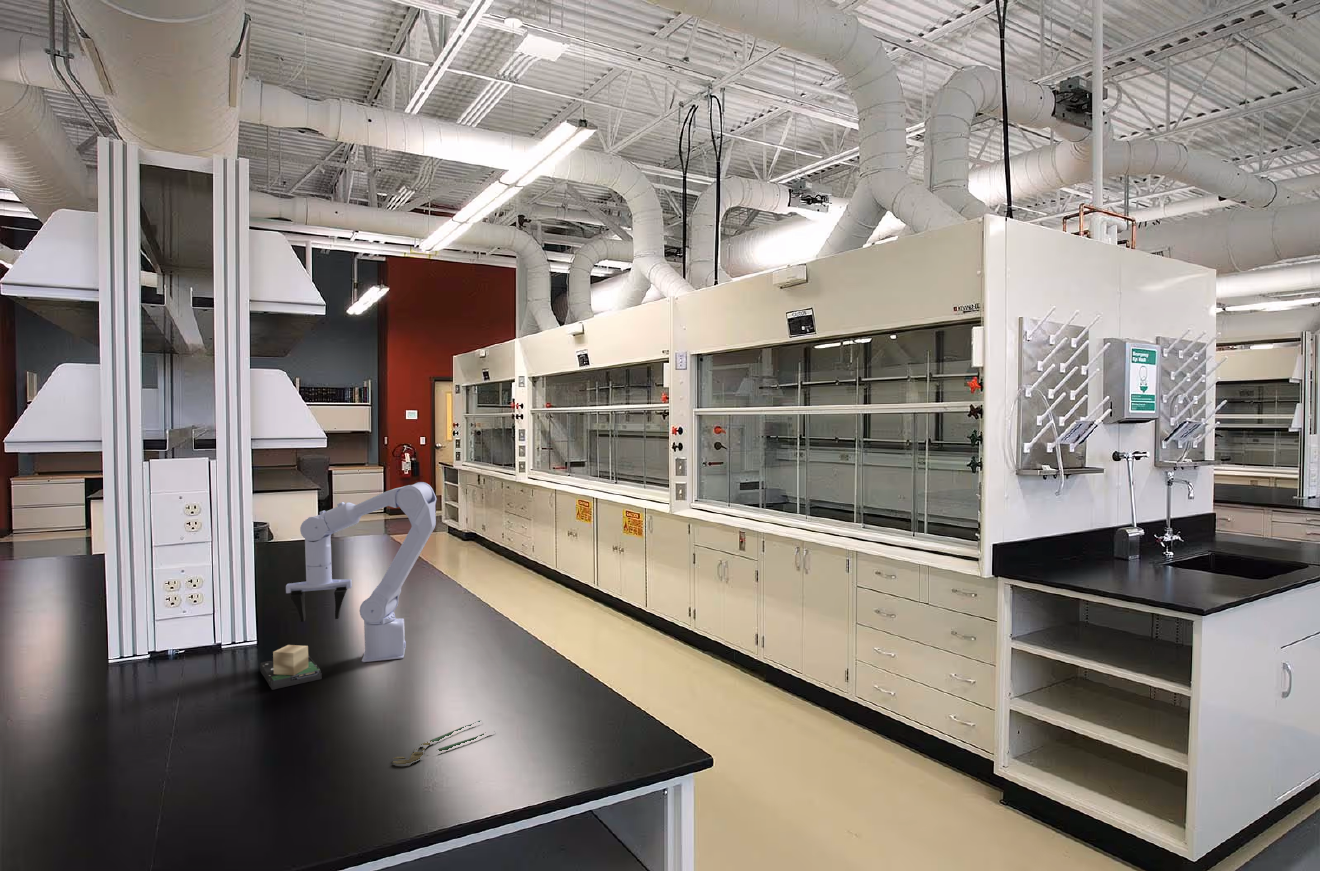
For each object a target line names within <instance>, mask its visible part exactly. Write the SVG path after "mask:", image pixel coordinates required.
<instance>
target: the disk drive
mask: <svg viewBox="0 0 1320 871" xmlns="http://www.w3.org/2000/svg"><path fill="white" fill-rule="evenodd" d="M259 666H260V668H259V669H260V673H261V675H262V676H263V678H264V679H265V681H266V682H267V684H268V686H269V688H270V689H271V690H273V691H274V690H277V689H282V688H287V687H291V686H295V685H300V684H305V683H308V682H309V683H310V682H314V681H318V680H322V671H321V669H320V667H319V666H318V665H317V663H316V662H315V661H314V659H312V658H311V656H310V655H309V654H308V668H307V669H305V670H303V671H301V672H299V673H297V674H296V675H279V674H274V667H273V660H269V661H263V662H260V664H259Z"/></svg>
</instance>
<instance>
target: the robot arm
mask: <svg viewBox="0 0 1320 871" xmlns="http://www.w3.org/2000/svg"><path fill="white" fill-rule="evenodd" d="M436 504H437V496H436V494H435V492H434V489H433V488H432V486H431V485H430V484H428V483H427V482H424V481H418V482H415V483H414V484H408V485H404V486H401V487H396V488H393V489H390V490H387V491H384V492H382V493H380V494H378V495H375V496H373V497H370V498H368V499H366V500H364V501H362V502H359V503H357V504H355V503H353V502H350V501H349V502H346V503H345V501H342V502H339V503H337V506H336V507H333V508H331V509H329V510H321V511H319V514H317V515H313V516H309V517H307V519H305V520H303V521H302V523H301V525H300V527H299V528H300V529H299V530H300V534H301V536H302V537H303V539H304V547H305V549H304V550H305V551H304V552H305V557H304V558H305V580H306V581H301V582H299V581H298V582H293V583H292V582H291V583H287V584H286V585H285V594H290V600H291V601H292V603H293V604H294V606H295V608H296V610H297V612H298V614H299V618H300V622H301V623H303V622H305V621H306V607H305V606H306V602H305V598H306V592H311V591H315V592H316V591H323V590H324V591H327V590H334V592H333V593H334V603H335V604H334V605H335V607H334V619H335V620H338V619H340V614H341V608H342V604H343V601H344V598H345V595H346V594H347V591H348V589H351V588H352V586H353V584H352V583H353V582H352V581H353V580H352V578H347V579H345V578H342V579H336V578H335V579H334V578H333V575H332V574H333V572H332V571H333V569H332V568H333V567H332V566H333V565H332V544H331V543H332V542H331V541H332V540H331V537H332V534H336V533H338V532H340V531H341V532H342V531H344V530H345V529H348V528H350V527H353V526H355V525H358V524H359V523H360V520H361V518H362V517H363V516H365V515H368V514H371V513H373V512H376V511H378V510H381V509H384V508H386V507H390V508H395V509H397V508H400V509H401V511H402V512H403V513H404V514H405V515H406V517H407V518H408V520H409V523H410V525H411V527H410V529H409V530H408V532H407V535H406V536H405V539H404V540H403V542H402V544H401V545H400V547H399V549H398V550H397V552H396V554H395V555H394V558H393V560H392V562H391V563H390V565H389V567H388V569H387V570H386V572H385V574H384V576H383V578H382V579H381V581H380V582H379V583H378V585H377V586H376V587H375V589H374V590H373V591H372V593H371V594H370V596H369V597H368V598H366V599H365V600H363V601H362V603H361V604H360V606H359V615H360V617H361V619H362V620H363V627H364V628H363V629H364V630H363V633H364V636H363V637H364V652H363V656H362V657H361V658H362V659H361V663H370V662H377V661H378V662H379V661H381V662H382V661H388V660H397V659H404V656H405V653H406V652H405V651H406V647H407V642H406V640H405V639H406V636H405V634H406V633H405V629H406V628H405V618H403V617H402V618H397V617H396V614H395V610H396V609H397V607H398V605H399V597H400V594H401V593H402V587H403V585H404V583H405V581H406V580H407V578H408V576H409V574H410V573H411V571H412V569H413V567H414V565H415V564H416V562H417V560H418V558H419V556H420V555H421V553H422V551H423V549H424V548H425V546H426V544H427V542H428V540H429V539H430V537H431V535H432V533H433V531H434V530H435V528H436V524H437V520H436V519H437V516H436V515H437V514H436V512H437V511H436Z"/></svg>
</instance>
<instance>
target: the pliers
mask: <svg viewBox="0 0 1320 871" xmlns="http://www.w3.org/2000/svg"><path fill="white" fill-rule="evenodd" d="M480 721H481V720H478V721H477V722H480ZM474 723H475V722H473V723H471V724H468V725H464V726H465V727H466V726H471V725H472V724H474ZM464 726H462V727H459V728H457V729H455V730H452V731H450V732H447V733H445V734H443V735H440V736H437V737H435V738H431V739H430V740H429V741H430V742H431V741H432V742H434V741H439V740H440V739H442V738H444V737H445V736H449V735H451V734H452V733H453V732H454V731H458V730H461V729H462V728H464ZM482 735H484V733H481V734H479V735H477V736H476V735H475V737H474V736H473V737H472V738H471V737H470V738H468V739H465V740H461V741H458V742H455V743H452V744H448V745H445V746H444V747H440V748H438V749H437V750H439V751H442V750H448V749H449V748H452V747H453V746H456V745H460V744H461V743H465V742H467V741H471V740H474V739H476V738H477V737H478V736H482ZM426 742H427V743H425V742H423V743H420V744H421V745H422V744H423V745H430V743H428V741H426ZM418 749H419V748H418ZM416 750H417V749H416ZM419 750H420V749H419ZM422 750H425V748H422V749H421V751H422ZM421 751H418V752H414V753H413V752H412V754H411V755H410V757H409V758H410V759H409V760H398V761H393V762H392V764H393V763H396V764H406V763H411V762H413V761H416V760H418V759H420V757H421V756H422V755H423V752H421ZM392 759H406V757H405V756H396V757H393V758H392Z"/></svg>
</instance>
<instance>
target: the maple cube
mask: <svg viewBox="0 0 1320 871" xmlns="http://www.w3.org/2000/svg"><path fill="white" fill-rule="evenodd" d="M272 654H273V655H272V657H273V658H272V662H273V667H274V674H279V675H296V674H297V673H299V672H301V671H303V670H305V669H307V668H308V655H309V646H308V645H301V644H300V645H297V644H296V645H295V644H287V645H285V646H282V647H281V648H278V649H276V650H274V651H272Z"/></svg>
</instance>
